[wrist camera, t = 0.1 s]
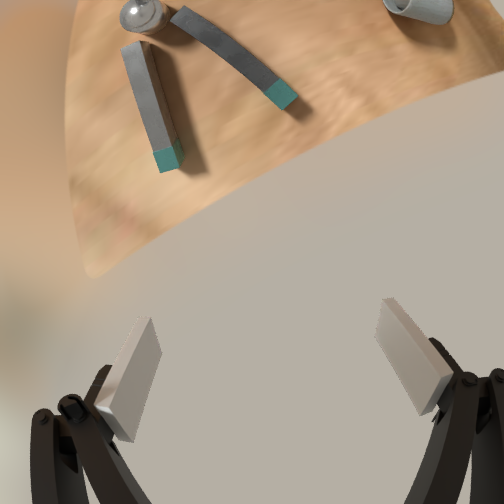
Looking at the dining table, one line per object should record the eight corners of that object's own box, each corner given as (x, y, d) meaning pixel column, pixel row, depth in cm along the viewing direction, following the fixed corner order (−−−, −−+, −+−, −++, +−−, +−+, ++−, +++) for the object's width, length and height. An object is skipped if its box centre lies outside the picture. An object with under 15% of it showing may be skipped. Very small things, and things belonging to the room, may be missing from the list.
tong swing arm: (122, 16, 21) (104, 12, 17) (162, 0, 21) (150, -9, 17) (167, 162, 36) (157, 177, 32) (204, 152, 35) (199, 166, 31)
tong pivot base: (125, 24, 22) (111, 21, 19) (156, -11, 20) (145, -18, 16) (259, 123, 33) (262, 130, 30) (292, 92, 31) (299, 96, 27)
